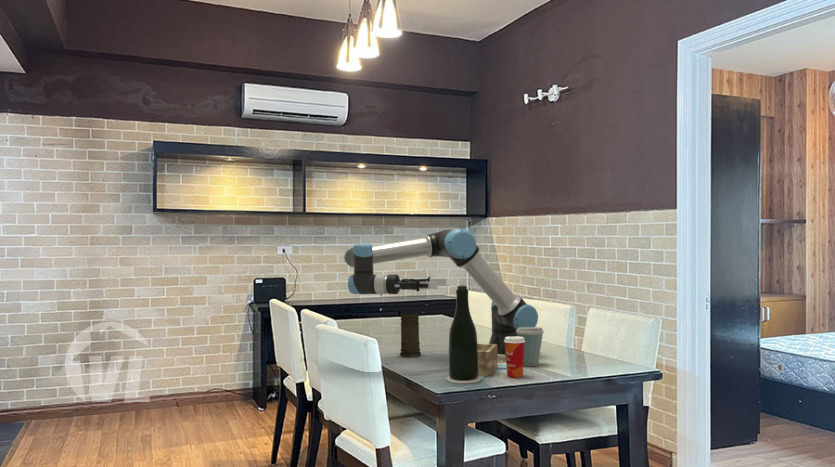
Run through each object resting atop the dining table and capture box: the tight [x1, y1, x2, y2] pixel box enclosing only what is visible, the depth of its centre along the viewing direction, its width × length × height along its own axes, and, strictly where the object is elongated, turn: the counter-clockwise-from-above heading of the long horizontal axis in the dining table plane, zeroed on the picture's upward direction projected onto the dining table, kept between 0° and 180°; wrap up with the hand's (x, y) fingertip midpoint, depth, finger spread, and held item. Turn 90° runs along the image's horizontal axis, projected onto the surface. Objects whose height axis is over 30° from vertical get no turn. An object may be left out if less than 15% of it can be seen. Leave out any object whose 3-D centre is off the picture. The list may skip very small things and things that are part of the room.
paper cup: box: [504, 336, 525, 379], centre depth 232 cm, size 8×8×14 cm
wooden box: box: [477, 343, 499, 377], centre depth 242 cm, size 15×16×9 cm
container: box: [399, 312, 422, 358], centre depth 275 cm, size 9×9×18 cm
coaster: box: [446, 376, 482, 385], centre depth 228 cm, size 12×12×1 cm
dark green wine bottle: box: [448, 284, 478, 381], centre depth 228 cm, size 10×10×33 cm
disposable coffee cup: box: [516, 326, 544, 367], centre depth 252 cm, size 11×11×15 cm
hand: (442, 283), depth 238 cm, fingers open, 13 cm apart
